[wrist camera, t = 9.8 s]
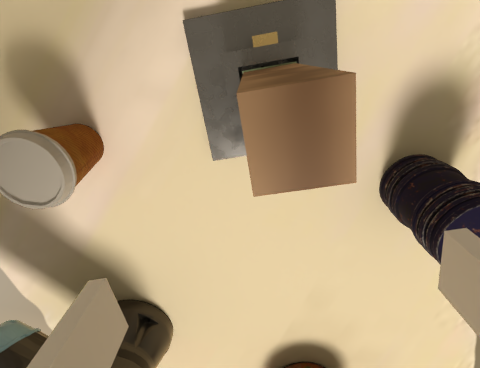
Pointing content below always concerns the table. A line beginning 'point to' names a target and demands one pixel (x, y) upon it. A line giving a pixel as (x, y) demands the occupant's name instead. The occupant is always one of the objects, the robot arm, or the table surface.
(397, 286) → the table surface
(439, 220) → the storage jar
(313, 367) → the food container
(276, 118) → the column
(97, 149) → the disposable coffee cup
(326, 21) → the grey socket base
